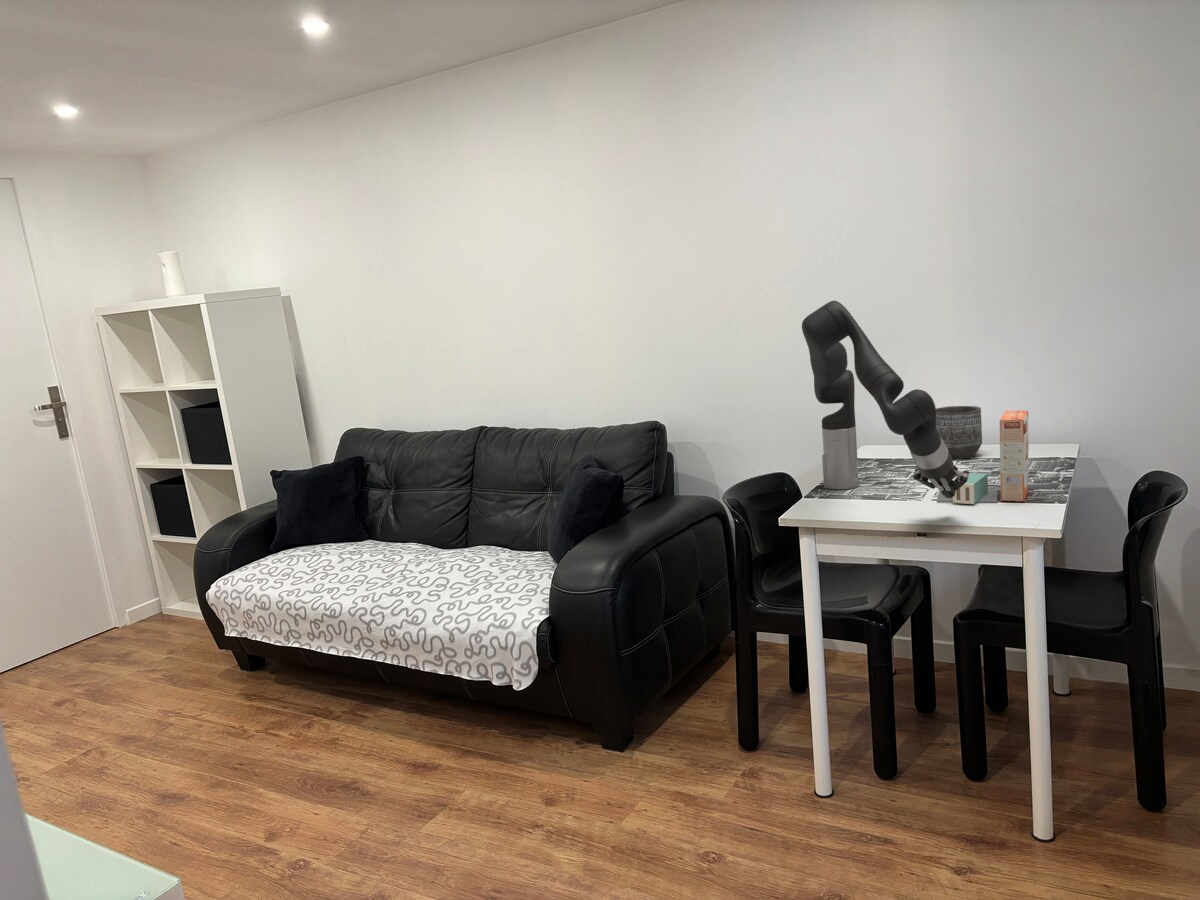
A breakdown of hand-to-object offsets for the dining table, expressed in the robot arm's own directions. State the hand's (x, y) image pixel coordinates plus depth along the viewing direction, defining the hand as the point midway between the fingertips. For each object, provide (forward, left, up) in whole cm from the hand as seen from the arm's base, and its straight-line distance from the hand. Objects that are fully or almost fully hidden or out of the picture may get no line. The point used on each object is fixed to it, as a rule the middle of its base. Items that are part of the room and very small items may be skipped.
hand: (950, 494), depth 207 cm
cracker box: (+14, +21, -6) cm, 26 cm away
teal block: (+2, +11, -2) cm, 11 cm away
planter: (-1, +70, -6) cm, 70 cm away
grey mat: (+3, +19, -5) cm, 20 cm away
